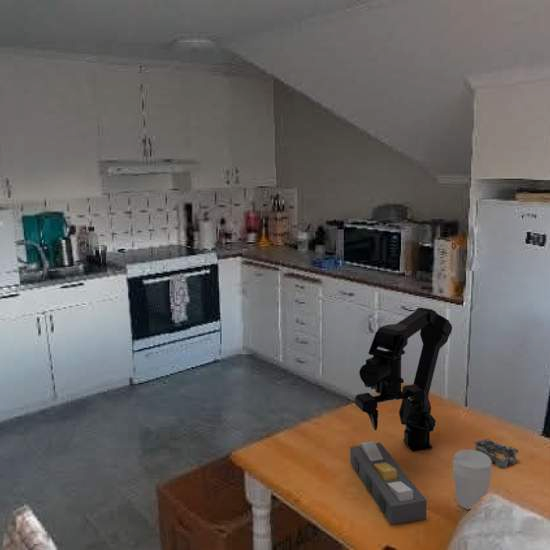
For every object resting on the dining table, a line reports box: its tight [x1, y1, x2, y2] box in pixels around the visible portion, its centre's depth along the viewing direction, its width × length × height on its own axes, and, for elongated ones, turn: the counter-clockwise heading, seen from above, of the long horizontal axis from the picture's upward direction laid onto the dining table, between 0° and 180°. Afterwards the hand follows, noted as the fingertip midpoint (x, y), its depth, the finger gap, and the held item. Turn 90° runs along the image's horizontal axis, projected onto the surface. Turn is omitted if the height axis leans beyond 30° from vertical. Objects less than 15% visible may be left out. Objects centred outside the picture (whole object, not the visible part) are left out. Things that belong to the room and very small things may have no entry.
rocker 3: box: [387, 481, 413, 502], centre depth 136 cm, size 4×7×2 cm, turn 12°
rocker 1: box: [361, 440, 383, 462], centre depth 154 cm, size 4×7×2 cm, turn 12°
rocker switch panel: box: [349, 442, 428, 526], centre depth 146 cm, size 9×28×5 cm, turn 12°
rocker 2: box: [373, 462, 398, 481], centre depth 145 cm, size 4×7×2 cm, turn 12°
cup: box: [452, 449, 493, 511], centre depth 138 cm, size 9×9×12 cm
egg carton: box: [473, 438, 519, 469], centre depth 159 cm, size 11×8×4 cm
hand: (390, 426), depth 154 cm, fingers open, 9 cm apart
